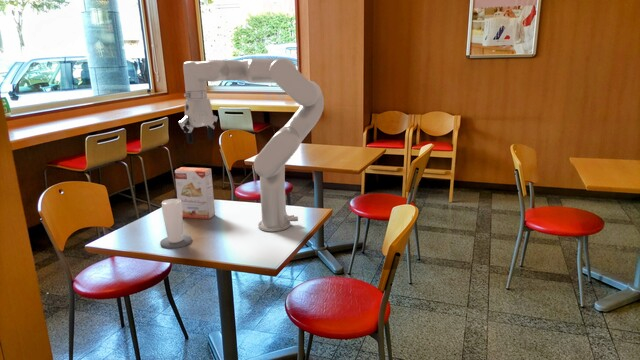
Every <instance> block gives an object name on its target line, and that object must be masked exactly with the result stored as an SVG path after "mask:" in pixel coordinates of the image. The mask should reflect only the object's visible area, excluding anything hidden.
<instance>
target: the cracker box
mask: <svg viewBox="0 0 640 360" xmlns="http://www.w3.org/2000/svg"><path fill="white" fill-rule="evenodd" d="M174 177H175V178H174V180H175V187H176V197H177V198H176V199H180V200H181V203H182V212H183V218H185V219H186V218H188V219H200V220H201V219H202V220H203V219H204V220H210V219H211V218H213V217H214V216H215V215H216V209H215V199H214V196H215V195H214V186H213V177H212V168H207V167H187V166H181V167H179V168H176V169H175V170H174Z"/></svg>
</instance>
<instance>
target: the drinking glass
mask: <svg viewBox="0 0 640 360" xmlns="http://www.w3.org/2000/svg"><path fill="white" fill-rule="evenodd" d="M161 211H162V218H163V222H164V227H165V231H166V235H167V237H168V241H169V242H170V243H178V242H181V241H182V240H183V235H184V226H183V223H184V221H183V218H184V217H183V212H182V203H181V200H180V199H178V198H170V199H164V200H162V202H161ZM167 237H166V238H167Z"/></svg>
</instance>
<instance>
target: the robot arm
mask: <svg viewBox="0 0 640 360" xmlns="http://www.w3.org/2000/svg"><path fill="white" fill-rule="evenodd" d="M182 70H183V76H184V88H185V93H184V94H183V96H184V98H186V99H185V101H184V117H183V118H182V119H181V120H179V121H178V125H179V126H180V129H181V130H182V131H183V132H184V133H185V140H186V143H187V144H194V143H195V141H194V133H193V130H194V128H200V127H207V128H206V135H207V137H206V138H207V140H213V141H214V140H215V131H214V130H215V127H216V125H217V121H218V119H219V118H218V116H216V114H215V115H214V113H213V109H212V103H211V101H210V98H208V94H207V93H208V92H207V91H208V90H207V82H212V83H214V82H220V81H223V82H224V81H243V82H248V83H252V84H253V83H254V84H256V83H257V84H259V83H261V84H264V83H266V84H267V83H269V84H273V83H274V84H276V85H277V86H278V87H279V88H280V89H281V90H282V91H284V92H285V93H286V94H287V95H288V96H289V97H290V98H291V99H292V100H293V101H294V102H295V103H297V104H298V105H299V108H298V109H297V110H296V111H295V112H294V114H293V115H292V116H291V118H290V119H289V120H288V121H287V122H286V124H285V125H284V126H283V127H281V128H280V129H279V130H278V131H277V132H276V133H274V135H273V136H271V138H270V140H269V141H268V142H267V143H266V144H265V146H264V147H263V148H262V149H261V150H260V152H259V153H258V154H257V155H256V156H255V158H254V161H253V170H254V171H255V173H256V174H257V175H258V176H259V191H260V207H261V211H260V212H261V221H259V223H258V224H257V226H258V229H260V230H262V231H265V232H280V231H284V230H286V229H288V228H290V227H291V222H299V217H298V216H297V215H296V216H295V214H292V215H288V213H287V207H286V206H287V205H286V184H285V183H286V182H285V181H286V180H285V177H286V176H285V175H286V173H285V172H286V169H285V168H286V164H287V162H288V161H289V160H290V159H291V157H292V156H293V155H294V154H295V153H296V151H297V150H298V149H299V147H300V145H301V144H302V142H303V141H304V139H305V138H306V137H307V135H308V134H309V133H310V132H311V131H312V129H313V128H314V127H315V126H316V125H317V123H318V122H319V120H320V119H321V116H322V115H323V112H324V106H325V99H324V95H323V91H322V89H321V87H320V86H319V84H317V82H315V81H313V80H309V79H307V77H305V75H303V74H302V73H301V72H300V71H299V70H298V69H297V66H296V63H294V62H293V60H292V59H289V58H248V59H243V60H242V59H241V60H240V59H239V60H238V59H233V60H232V59H231V60H229V59H228V60H225V59H222V60H221V59H210V60H204V61H200V60H199V61H198V60H196V61H195V60H193V61H192V60H191V61H190V60H189V61H185V62H183V65H182Z"/></svg>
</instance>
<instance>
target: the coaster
mask: <svg viewBox="0 0 640 360" xmlns="http://www.w3.org/2000/svg"><path fill="white" fill-rule="evenodd" d="M191 243H193V238H192V236H190V235H187V234H183V240H182V241H181V242H178V243H170V242H169V241H168V237H164V238H163V239H161V240H160V241H159V245H160V247H161V248H163V249H168V250H170V249H171V250H172V249H174V250H175V249H181V248H184V247H187V246H188V245H190V244H191Z"/></svg>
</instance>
